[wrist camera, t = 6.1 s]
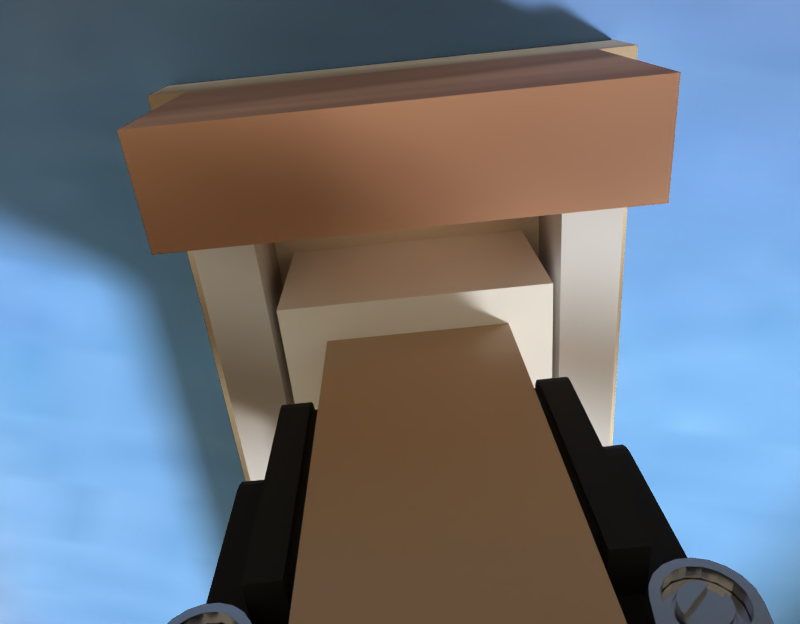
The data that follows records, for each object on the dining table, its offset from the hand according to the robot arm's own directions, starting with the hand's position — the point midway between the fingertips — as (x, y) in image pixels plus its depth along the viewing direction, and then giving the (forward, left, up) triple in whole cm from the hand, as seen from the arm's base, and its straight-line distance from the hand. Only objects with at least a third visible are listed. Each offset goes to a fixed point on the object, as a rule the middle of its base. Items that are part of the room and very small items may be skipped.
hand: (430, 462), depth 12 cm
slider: (0, 0, -5) cm, 5 cm away
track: (+6, 0, -6) cm, 9 cm away
